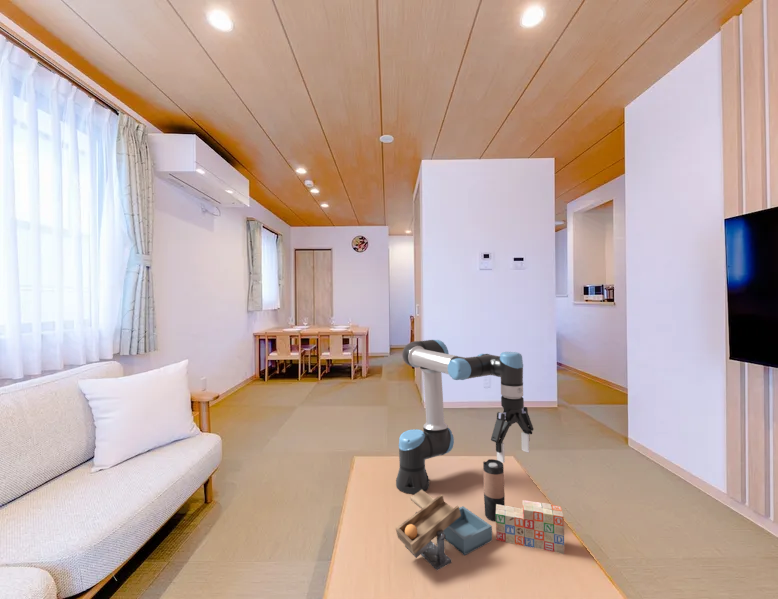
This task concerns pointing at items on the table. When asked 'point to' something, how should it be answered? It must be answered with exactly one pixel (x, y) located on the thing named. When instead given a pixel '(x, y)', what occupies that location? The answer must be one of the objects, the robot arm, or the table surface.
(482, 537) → the tub
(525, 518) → the stack of blocks
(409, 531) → the ball
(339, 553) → the table surface
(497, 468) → the travel mug
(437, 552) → the stand
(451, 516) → the chute
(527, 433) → the robot arm
